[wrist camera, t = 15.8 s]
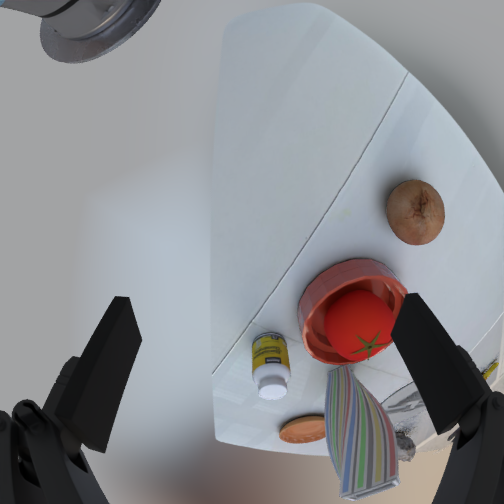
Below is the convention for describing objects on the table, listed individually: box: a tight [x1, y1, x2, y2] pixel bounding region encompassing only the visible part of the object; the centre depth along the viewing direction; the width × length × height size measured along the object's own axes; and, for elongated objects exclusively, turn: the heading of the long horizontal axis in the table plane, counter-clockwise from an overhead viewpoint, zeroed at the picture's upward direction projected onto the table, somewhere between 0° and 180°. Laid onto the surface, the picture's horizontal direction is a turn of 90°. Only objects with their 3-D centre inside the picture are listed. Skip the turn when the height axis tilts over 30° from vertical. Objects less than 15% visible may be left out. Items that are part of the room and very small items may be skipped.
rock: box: [395, 433, 416, 462], centre depth 73 cm, size 16×10×15 cm, turn 25°
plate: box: [381, 382, 426, 424], centre depth 65 cm, size 28×28×1 cm
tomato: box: [324, 290, 395, 361], centre depth 41 cm, size 11×12×10 cm
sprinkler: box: [483, 362, 499, 381], centre depth 64 cm, size 19×8×20 cm
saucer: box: [279, 416, 326, 443], centre depth 65 cm, size 16×16×3 cm
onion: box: [387, 180, 445, 245], centre depth 34 cm, size 10×9×10 cm
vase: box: [324, 364, 400, 501], centre depth 42 cm, size 14×14×30 cm
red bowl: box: [297, 259, 408, 365], centre depth 44 cm, size 19×19×6 cm
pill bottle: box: [252, 333, 291, 400], centre depth 45 cm, size 6×6×12 cm
